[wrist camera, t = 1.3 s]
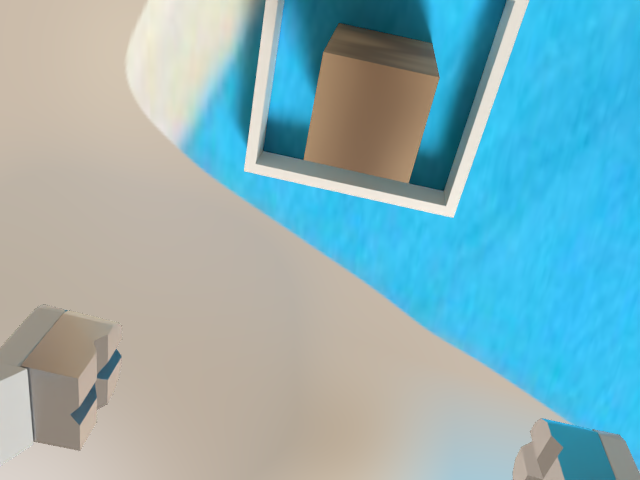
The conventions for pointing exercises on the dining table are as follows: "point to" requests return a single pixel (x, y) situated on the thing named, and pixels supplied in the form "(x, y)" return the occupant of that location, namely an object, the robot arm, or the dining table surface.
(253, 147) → the white square frame
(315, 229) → the dining table surface
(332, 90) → the walnut block
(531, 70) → the dining table surface
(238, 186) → the dining table surface
